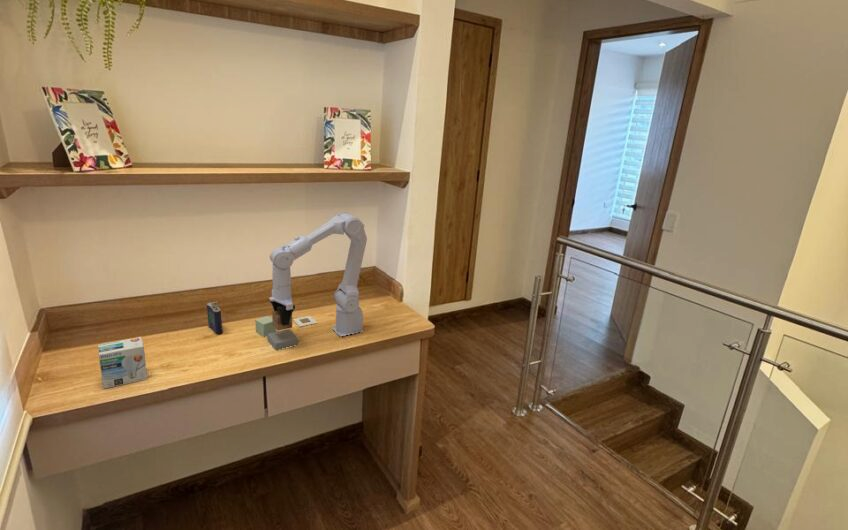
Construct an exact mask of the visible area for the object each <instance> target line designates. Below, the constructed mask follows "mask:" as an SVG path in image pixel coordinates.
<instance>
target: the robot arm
mask: <svg viewBox="0 0 848 530" xmlns="http://www.w3.org/2000/svg"><path fill="white" fill-rule="evenodd" d="M331 235H342V236H343V235H346V237H347V238H348V239H349V240H350V243H349V249H348V254H347V259H346V263H345V267H344V268H345V269H344V273H343V277H342V282H341V283H339V284H338V287H337V290H335V292H334V295H333V299H334V302H335V303H336V307H335V309H336V310H335V326H332V327H331V328H332V329H333V330H334V331H335V332H334V331H333V330H332V329H331V330H332V331H333V332H334V333H335V334H336V335H338V336H339V337H340V338H343V337H342V335H343V336H344V337H347V336H346V335H348V336H351V335H350V334H352V335H356V334H359V333H358V332H360V333H363V332H364V330H363V327H364V325H363V323H364V322H363V321H364V314H363V310H362V308H361V307H360V300H359V296H360V292H359V289H358V283H359V278H360V274H361V269H362V263H363V259H364V254H365V250H366V247H367V242H368V241H367V240H368V237H367V233H366V230H365V223H363V222H362V221H361V220H360V218H357V217H355V216H353V215H352V214H350V213H349V212H347V211H342V212H339V213H337V215H334V216H333V217H331V218H330V219H329V220H328V221H327V222H326V223H324V224H323V225H322V226H319V227H318V228H317V229H315V230H314V231H312V232H311V233H309V234H308V235H306V236H305V235H300V236H298V235H296V236H295V237H294V239H293V240H292V241H289V242H288V243H286V244H283V245H281V247H276V248H274V249H273V250H272V251H271V252H270V255H269V259H270V261H271V262H272V275H271V276H272V279H271V280H272V289H271V295H272V296H271V297H269V302H270V304H271V305H272V308H273V311H277V310H278V311H279V313H280V317H281V323H282V325H283V326H284V325H289V322H290V318H291V315H292V316H293V312H294V311H295V309H296V306H295V305H294V303H293V302H292V300H293V299H292V288H291V287H292V285H291V284H292V282H291V281H292V279H291V276H292V275H291V266H293V263H294V261H296V260H297V259H299V258H301V257H302V256H304V255H305V254H307V253H309V252H310V251H311V250H312V247H313V245H315V244H317V243H319V242H321V241H322V240H324V239H326V238H328V237H329V236H331ZM362 331H363V332H362ZM355 333H356V334H355Z"/></svg>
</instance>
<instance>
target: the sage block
mask: <svg viewBox="0 0 848 530" xmlns="http://www.w3.org/2000/svg"><path fill="white" fill-rule="evenodd" d="M254 324H255V333H256V334H258V335H259V336H261V337H263V338H265V337H267V334H269V333H273V332H277V329H276V328H275V327H274V326H273V323H272V317H270V316H269V315H267V316H263V317H260V318H256V319H255V320H254Z"/></svg>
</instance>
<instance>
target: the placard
mask: <svg viewBox="0 0 848 530" xmlns="http://www.w3.org/2000/svg"><path fill="white" fill-rule="evenodd" d="M292 322H294V323H295V324H296V325H297V326H298V327H299V328H302V326H303V327H307V326H311V324H312V325H316V323H317V324H318V321H316V320H315V318H314V317H312V316H311V315H307V316H301V317H297V318H296V317H295V318H292ZM306 325H307V326H306Z"/></svg>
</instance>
